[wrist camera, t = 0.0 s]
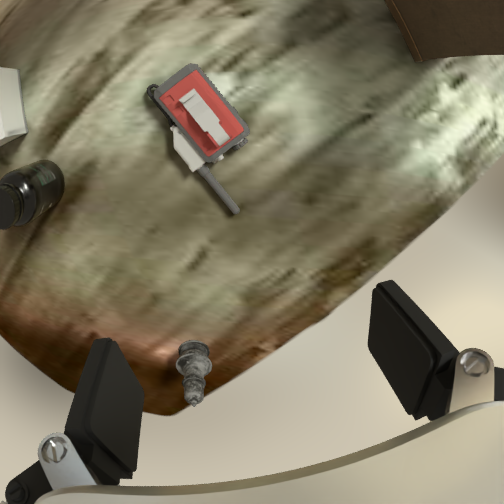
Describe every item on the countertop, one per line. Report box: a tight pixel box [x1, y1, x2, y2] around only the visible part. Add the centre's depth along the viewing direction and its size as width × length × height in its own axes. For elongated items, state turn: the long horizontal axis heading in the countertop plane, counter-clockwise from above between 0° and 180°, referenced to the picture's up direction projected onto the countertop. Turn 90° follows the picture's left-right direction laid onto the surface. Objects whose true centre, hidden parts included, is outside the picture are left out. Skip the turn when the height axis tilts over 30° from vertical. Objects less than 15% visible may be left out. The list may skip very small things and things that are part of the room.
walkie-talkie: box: [147, 63, 250, 214], centre depth 35 cm, size 9×4×20 cm
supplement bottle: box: [0, 160, 65, 230], centre depth 29 cm, size 7×7×12 cm
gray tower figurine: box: [176, 340, 212, 407], centre depth 45 cm, size 6×6×12 cm
